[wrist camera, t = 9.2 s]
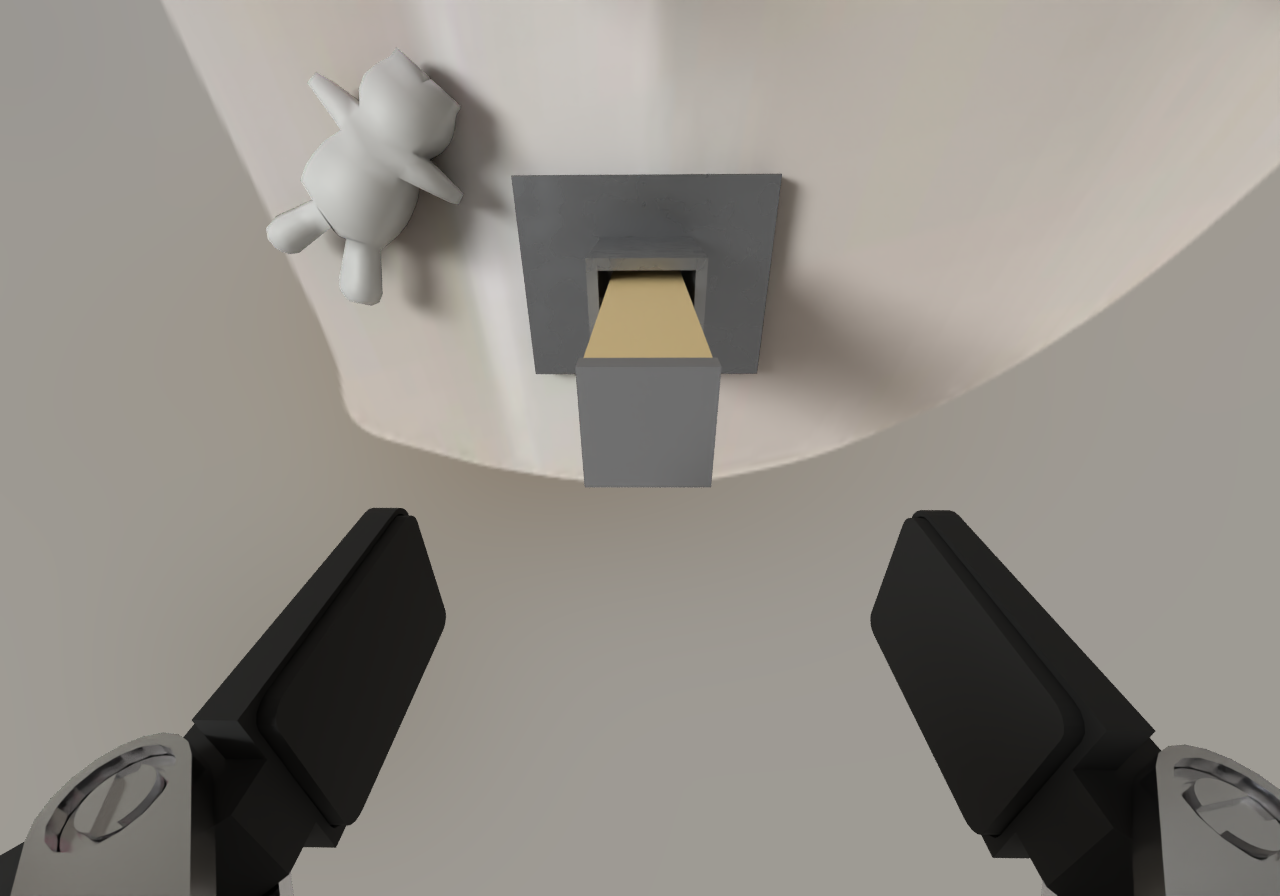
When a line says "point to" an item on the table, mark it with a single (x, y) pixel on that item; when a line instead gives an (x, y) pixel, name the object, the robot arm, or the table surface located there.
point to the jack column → (647, 387)
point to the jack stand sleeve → (646, 254)
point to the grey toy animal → (372, 169)
